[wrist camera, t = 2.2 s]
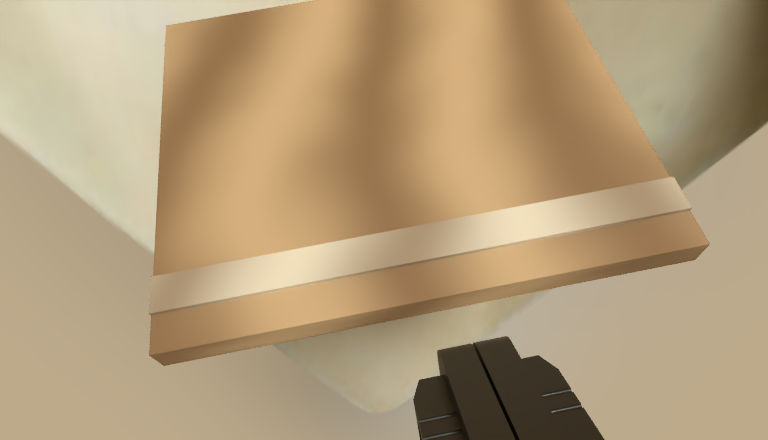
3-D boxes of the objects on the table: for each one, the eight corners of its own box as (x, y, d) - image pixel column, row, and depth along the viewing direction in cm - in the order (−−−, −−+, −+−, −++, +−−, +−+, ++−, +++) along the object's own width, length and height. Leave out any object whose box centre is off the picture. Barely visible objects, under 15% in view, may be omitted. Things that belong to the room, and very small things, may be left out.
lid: (538, -18, 24) (543, -42, 23) (694, 259, 16) (712, 241, 15) (175, 44, 23) (164, 22, 22) (164, 365, 16) (146, 353, 15)
